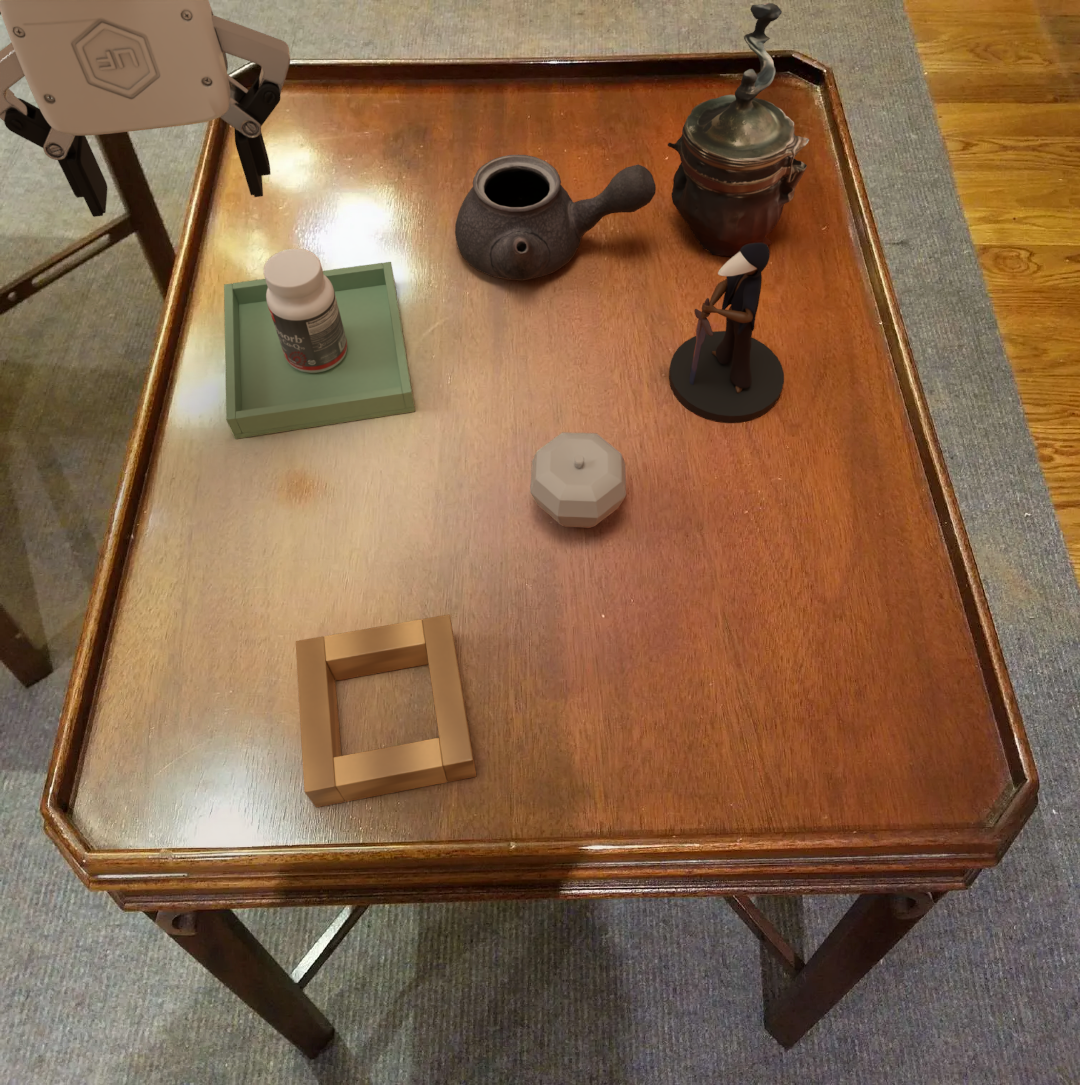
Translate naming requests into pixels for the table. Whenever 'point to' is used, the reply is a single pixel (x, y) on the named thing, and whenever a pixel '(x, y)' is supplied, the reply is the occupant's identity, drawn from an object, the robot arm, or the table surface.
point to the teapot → (536, 215)
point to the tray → (325, 397)
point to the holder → (390, 766)
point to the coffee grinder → (738, 158)
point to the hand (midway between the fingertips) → (179, 192)
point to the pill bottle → (304, 311)
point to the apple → (578, 479)
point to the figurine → (729, 350)
